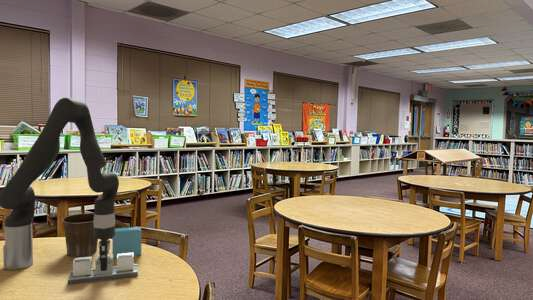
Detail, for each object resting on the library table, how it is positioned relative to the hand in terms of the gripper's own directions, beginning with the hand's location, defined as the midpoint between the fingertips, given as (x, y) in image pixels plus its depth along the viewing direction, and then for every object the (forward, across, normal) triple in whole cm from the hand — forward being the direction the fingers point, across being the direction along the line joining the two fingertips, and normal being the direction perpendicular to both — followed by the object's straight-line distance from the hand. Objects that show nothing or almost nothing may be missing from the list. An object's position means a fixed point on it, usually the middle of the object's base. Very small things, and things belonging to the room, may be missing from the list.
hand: (104, 266), depth 136 cm
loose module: (+2, 0, 0) cm, 2 cm away
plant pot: (+4, -30, -11) cm, 32 cm away
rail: (+4, 0, 0) cm, 4 cm away
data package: (+4, -21, +8) cm, 23 cm away
